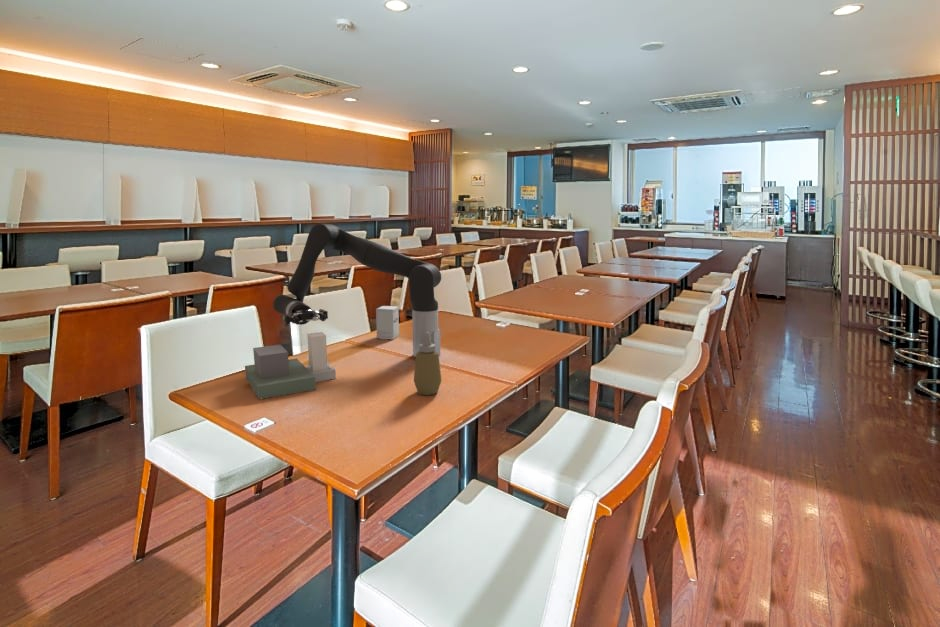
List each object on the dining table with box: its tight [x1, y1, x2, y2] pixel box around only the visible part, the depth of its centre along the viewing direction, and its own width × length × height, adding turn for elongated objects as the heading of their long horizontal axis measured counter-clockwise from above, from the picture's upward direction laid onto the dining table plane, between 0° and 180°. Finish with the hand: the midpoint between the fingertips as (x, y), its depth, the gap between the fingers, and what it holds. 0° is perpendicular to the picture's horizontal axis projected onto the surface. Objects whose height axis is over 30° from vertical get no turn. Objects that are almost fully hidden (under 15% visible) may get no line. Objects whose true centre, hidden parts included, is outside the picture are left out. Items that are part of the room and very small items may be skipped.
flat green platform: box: [244, 344, 337, 400], centre depth 163 cm, size 24×22×11 cm
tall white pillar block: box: [307, 331, 329, 373], centre depth 167 cm, size 5×5×14 cm
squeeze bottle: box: [413, 332, 442, 396], centre depth 153 cm, size 8×8×18 cm
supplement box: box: [375, 305, 400, 341], centre depth 217 cm, size 7×7×13 cm
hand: (311, 319), depth 176 cm, fingers open, 8 cm apart
